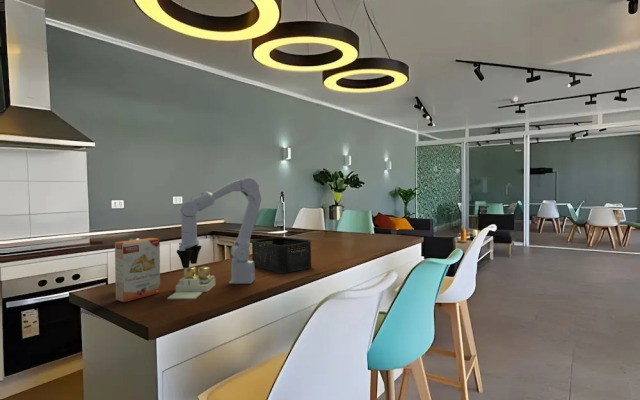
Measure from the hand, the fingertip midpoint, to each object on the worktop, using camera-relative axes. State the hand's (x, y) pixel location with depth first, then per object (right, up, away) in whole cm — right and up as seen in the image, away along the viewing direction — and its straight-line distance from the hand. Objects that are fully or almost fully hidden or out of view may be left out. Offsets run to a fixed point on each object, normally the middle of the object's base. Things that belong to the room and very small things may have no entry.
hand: (189, 265), depth 140 cm
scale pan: (+3, -6, 0) cm, 7 cm away
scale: (+3, -9, -1) cm, 9 cm away
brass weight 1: (0, -5, 0) cm, 5 cm away
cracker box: (-15, -10, -11) cm, 21 cm away
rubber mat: (+2, -9, -11) cm, 15 cm away
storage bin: (+32, -8, +37) cm, 50 cm away
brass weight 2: (+6, -5, 0) cm, 8 cm away
